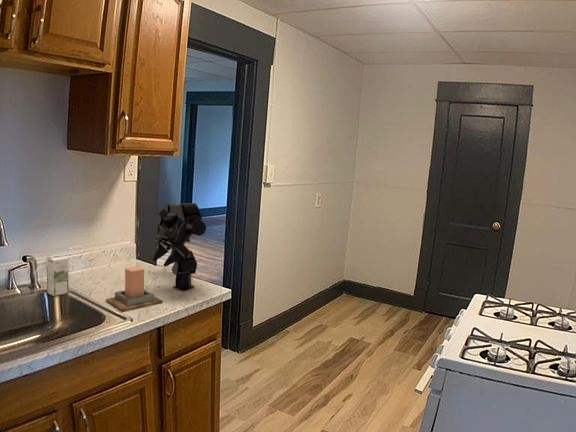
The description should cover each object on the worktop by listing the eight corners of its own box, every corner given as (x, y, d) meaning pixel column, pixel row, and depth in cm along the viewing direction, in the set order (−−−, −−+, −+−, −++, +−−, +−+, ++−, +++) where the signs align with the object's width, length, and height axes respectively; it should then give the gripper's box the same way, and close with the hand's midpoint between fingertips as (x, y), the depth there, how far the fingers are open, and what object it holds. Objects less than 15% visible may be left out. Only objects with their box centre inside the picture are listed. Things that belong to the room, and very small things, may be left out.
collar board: (145, 293, 184) (145, 285, 184) (162, 302, 175) (162, 294, 174) (106, 301, 173) (106, 292, 172) (121, 312, 164) (121, 302, 163)
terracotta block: (137, 296, 177) (137, 266, 175) (143, 300, 174) (144, 269, 172) (125, 299, 174) (125, 268, 172) (131, 303, 170) (131, 271, 168)
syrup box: (62, 289, 183) (61, 254, 180) (69, 293, 179) (68, 257, 176) (47, 293, 178) (46, 256, 176) (54, 297, 174) (53, 259, 172)
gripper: (160, 216, 187) (134, 246, 181) (183, 223, 173) (156, 255, 168) (177, 233, 193) (152, 263, 188) (201, 241, 180) (175, 273, 174)
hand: (158, 263), depth 179 cm, fingers open, 9 cm apart
